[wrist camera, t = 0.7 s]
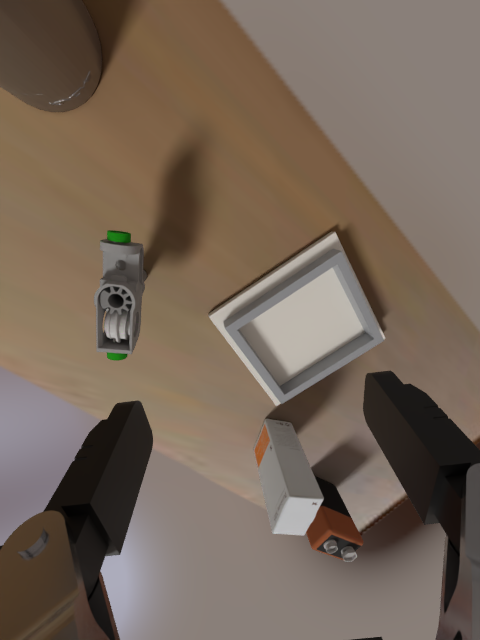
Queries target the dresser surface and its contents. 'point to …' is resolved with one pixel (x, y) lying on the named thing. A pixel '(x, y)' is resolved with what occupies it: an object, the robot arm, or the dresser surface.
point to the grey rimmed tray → (300, 320)
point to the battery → (333, 526)
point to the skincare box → (286, 479)
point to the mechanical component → (119, 295)
